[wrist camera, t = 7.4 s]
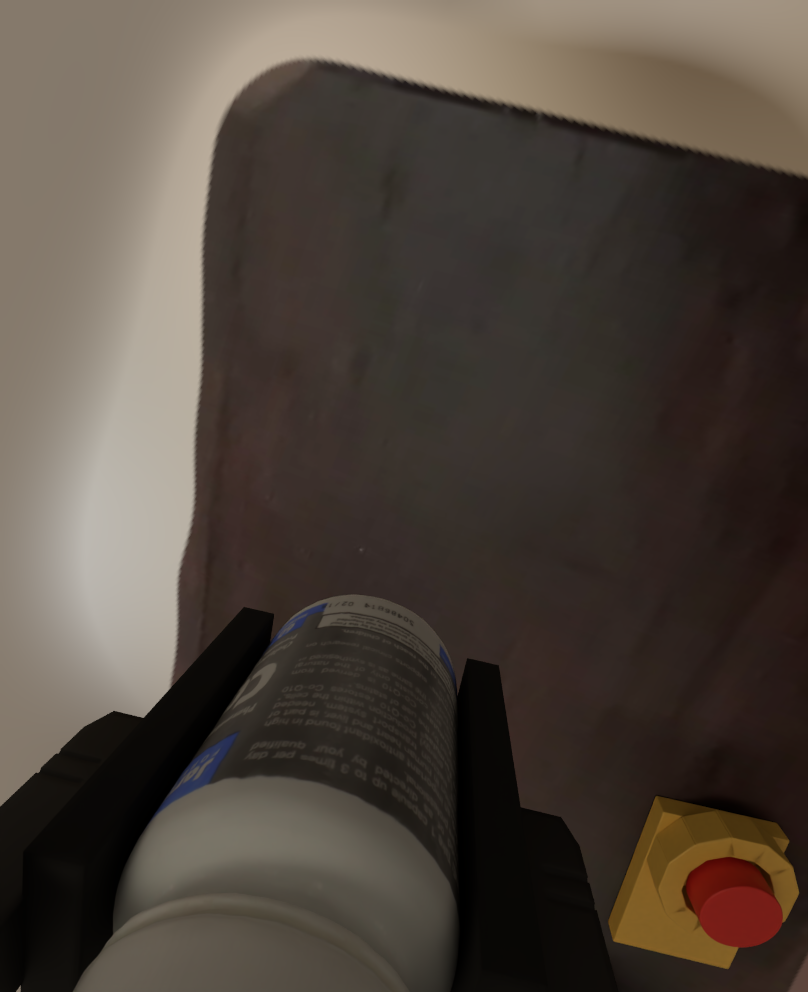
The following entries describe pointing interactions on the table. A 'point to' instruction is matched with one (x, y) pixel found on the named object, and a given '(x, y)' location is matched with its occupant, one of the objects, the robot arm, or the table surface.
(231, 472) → the table surface
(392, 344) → the table surface
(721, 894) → the stop button
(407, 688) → the pill bottle
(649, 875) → the button box
